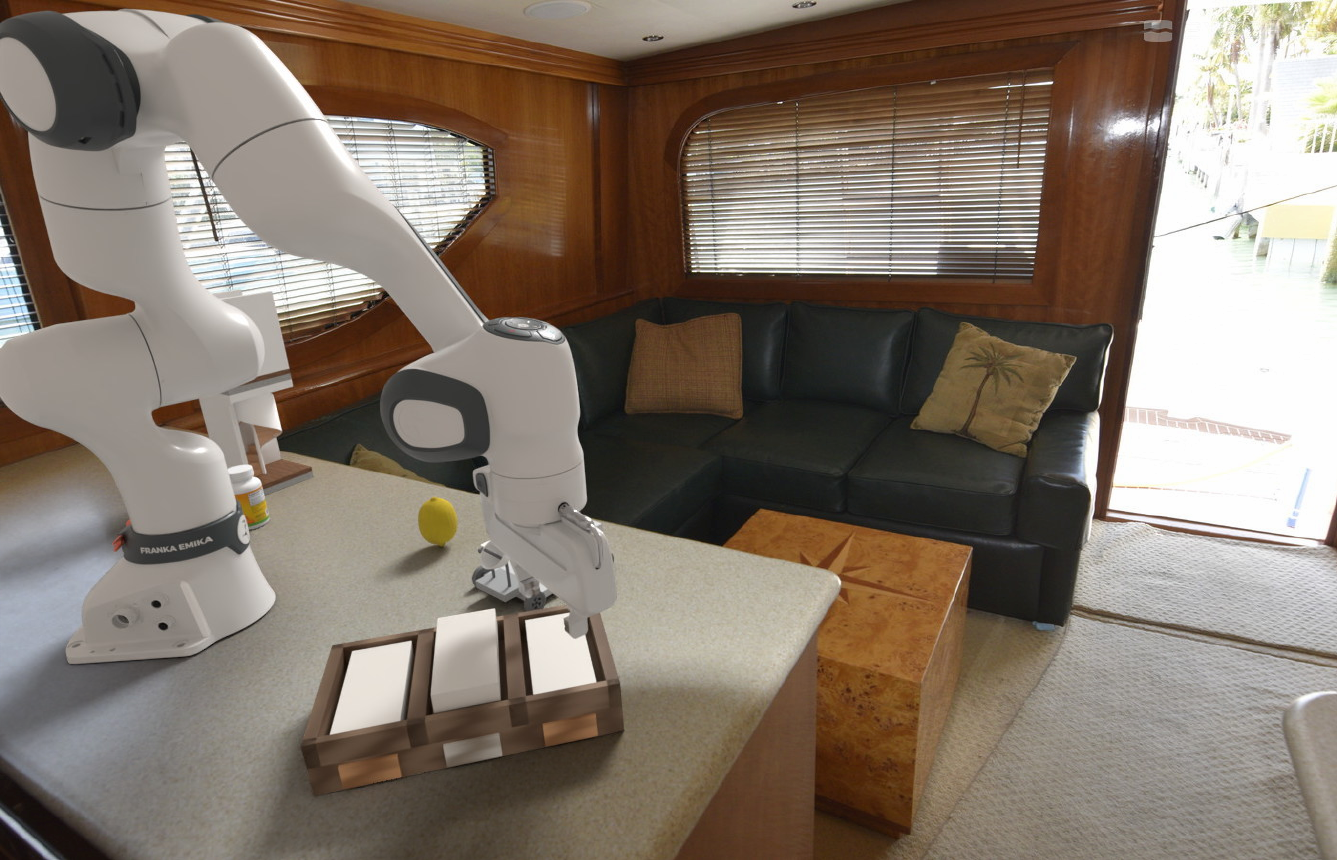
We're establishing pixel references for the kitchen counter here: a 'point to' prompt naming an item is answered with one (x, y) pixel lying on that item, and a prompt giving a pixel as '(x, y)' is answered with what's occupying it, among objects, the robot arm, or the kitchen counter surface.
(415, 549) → the kitchen counter surface
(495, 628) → the switch
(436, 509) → the lemon
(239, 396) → the white tiered stand
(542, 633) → the switch
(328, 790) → the brown boxy piece
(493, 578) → the toy car
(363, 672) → the switch
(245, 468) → the supplement bottle
